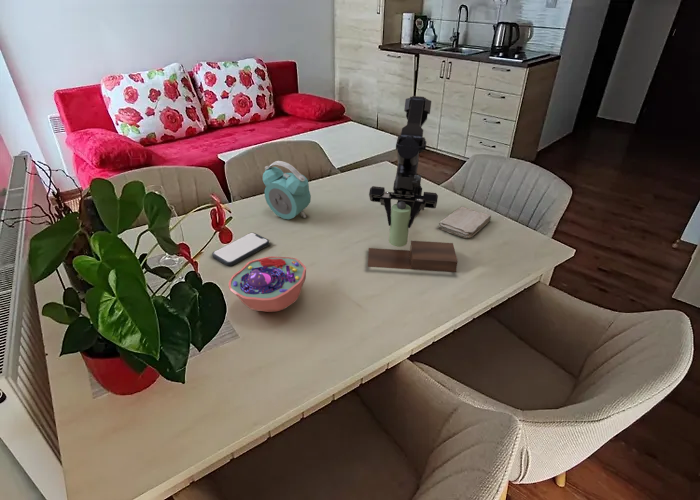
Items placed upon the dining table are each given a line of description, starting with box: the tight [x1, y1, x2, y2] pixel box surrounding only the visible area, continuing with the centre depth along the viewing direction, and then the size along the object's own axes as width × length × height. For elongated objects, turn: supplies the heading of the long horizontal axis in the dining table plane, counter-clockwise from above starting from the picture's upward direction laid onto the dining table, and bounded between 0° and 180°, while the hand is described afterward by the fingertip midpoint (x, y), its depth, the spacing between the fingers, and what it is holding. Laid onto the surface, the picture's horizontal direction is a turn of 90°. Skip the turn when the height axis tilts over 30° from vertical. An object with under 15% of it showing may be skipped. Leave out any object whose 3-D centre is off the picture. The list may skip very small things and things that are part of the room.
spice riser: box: [367, 240, 459, 273], centre depth 127 cm, size 10×25×5 cm, turn 86°
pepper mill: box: [388, 201, 411, 248], centre depth 120 cm, size 5×5×13 cm
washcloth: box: [437, 206, 492, 239], centre depth 148 cm, size 12×18×3 cm, turn 142°
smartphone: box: [212, 232, 270, 267], centre depth 131 cm, size 9×2×16 cm
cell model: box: [228, 256, 307, 313], centre depth 109 cm, size 17×20×11 cm
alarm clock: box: [262, 160, 312, 220], centre depth 146 cm, size 17×10×20 cm, turn 58°
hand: (399, 226), depth 119 cm, fingers closed on pepper mill, 5 cm apart
